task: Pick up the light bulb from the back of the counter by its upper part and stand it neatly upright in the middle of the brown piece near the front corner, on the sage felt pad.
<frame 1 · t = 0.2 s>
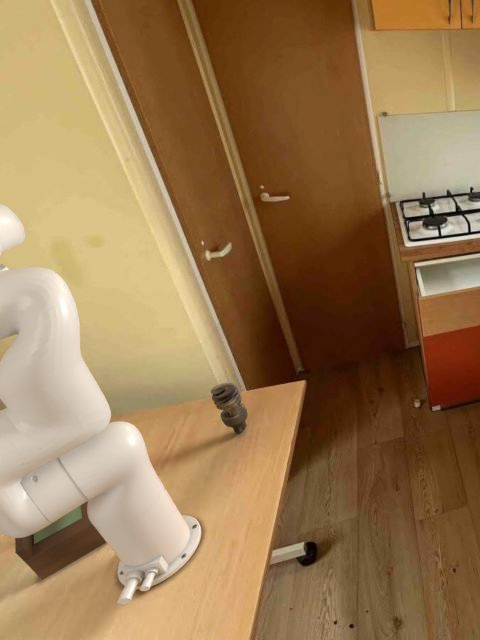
hand: (15, 339, 88), 31 cm above the table, tool pointing down, fingers open, 9 cm apart
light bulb: (241, 431, 105), on the table
brown piece: (73, 537, 83), on the table
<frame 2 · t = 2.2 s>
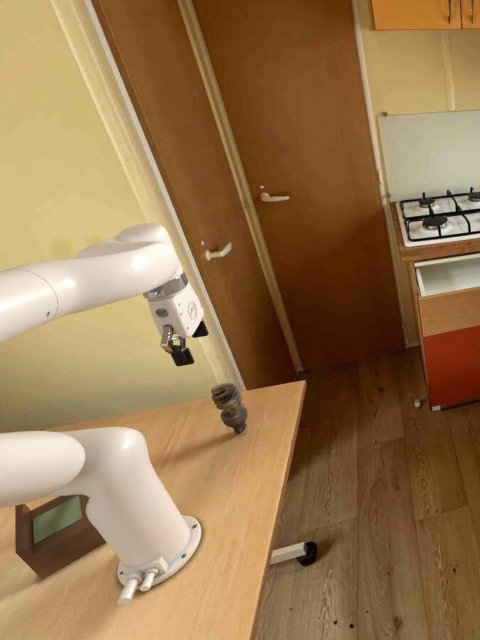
hand: (193, 349, 93), 26 cm above the table, tool pointing down, fingers open, 9 cm apart
nothing on the table moved.
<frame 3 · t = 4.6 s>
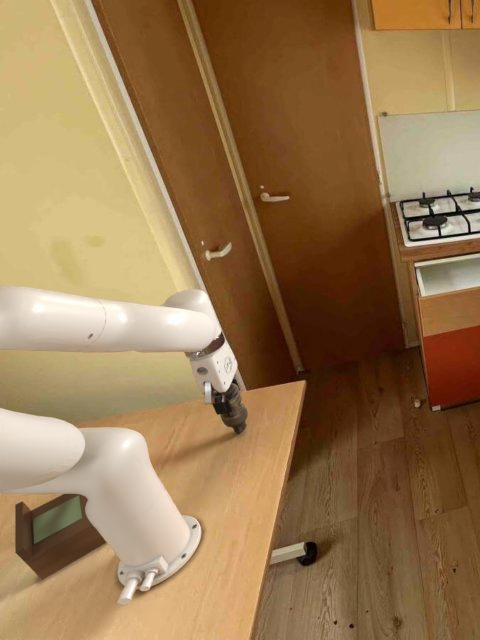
hand: (229, 401, 100), 10 cm above the table, tool pointing down, fingers closed on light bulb, 5 cm apart
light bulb: (241, 431, 105), on the table, touching gripper
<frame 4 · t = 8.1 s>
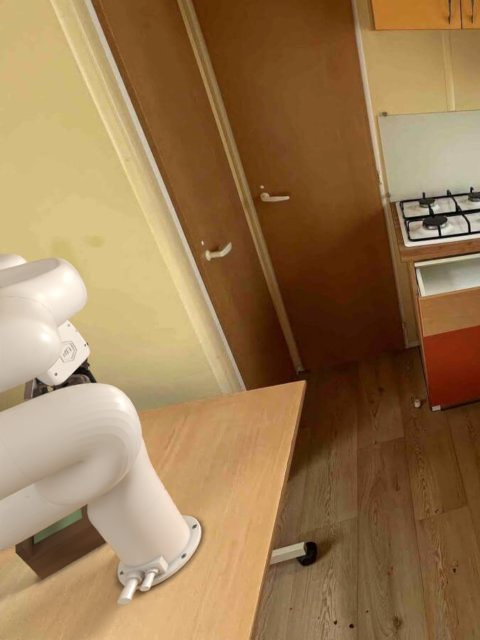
hand: (77, 398, 81), 25 cm above the table, tool pointing down, fingers closed on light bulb, 5 cm apart
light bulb: (101, 434, 86), point 15 cm above the table, touching gripper
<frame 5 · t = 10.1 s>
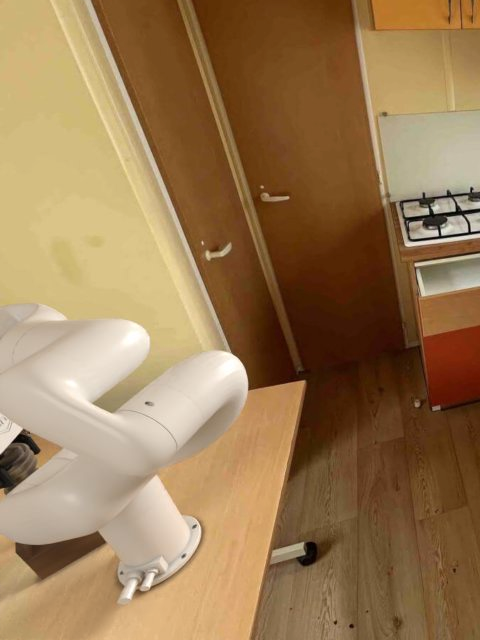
hand: (16, 469, 73), 20 cm above the table, tool pointing down, fingers closed on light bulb, 5 cm apart
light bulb: (45, 505, 78), point 10 cm above the table, touching gripper
when the fingers open (16 cm above the table, at t = 11.6 s): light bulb stays where it is, resting on brown piece.
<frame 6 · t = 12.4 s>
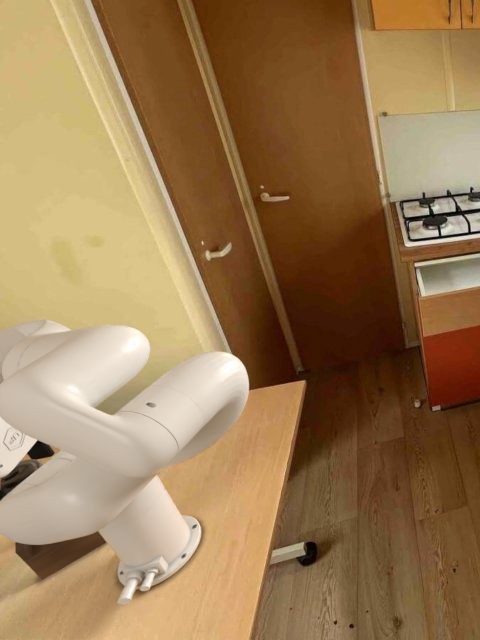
hand: (25, 480, 74), 18 cm above the table, tool pointing down, fingers open, 9 cm apart
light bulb: (57, 519, 80), point 6 cm above the table, touching brown piece
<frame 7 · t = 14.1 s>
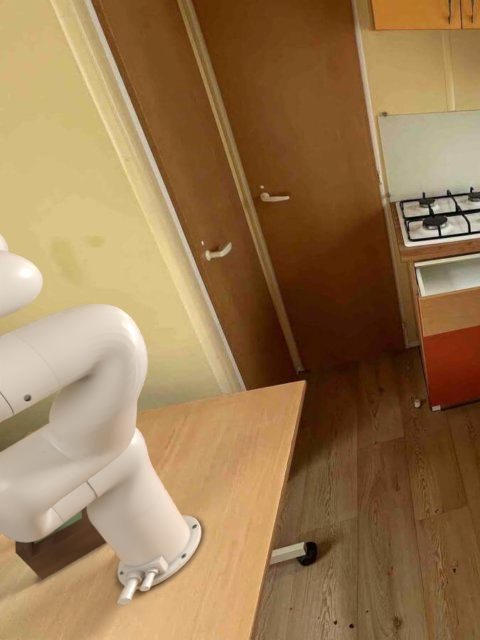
nothing on the table moved.
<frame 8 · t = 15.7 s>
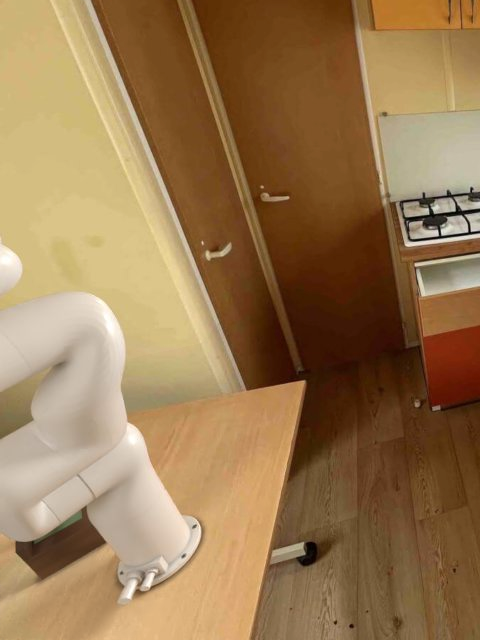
nothing on the table moved.
at the end: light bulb 0.0 cm off-centre on the brown piece, point 6.0 cm above the brown piece's base; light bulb tilted 0°; the gripper is holding nothing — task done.
